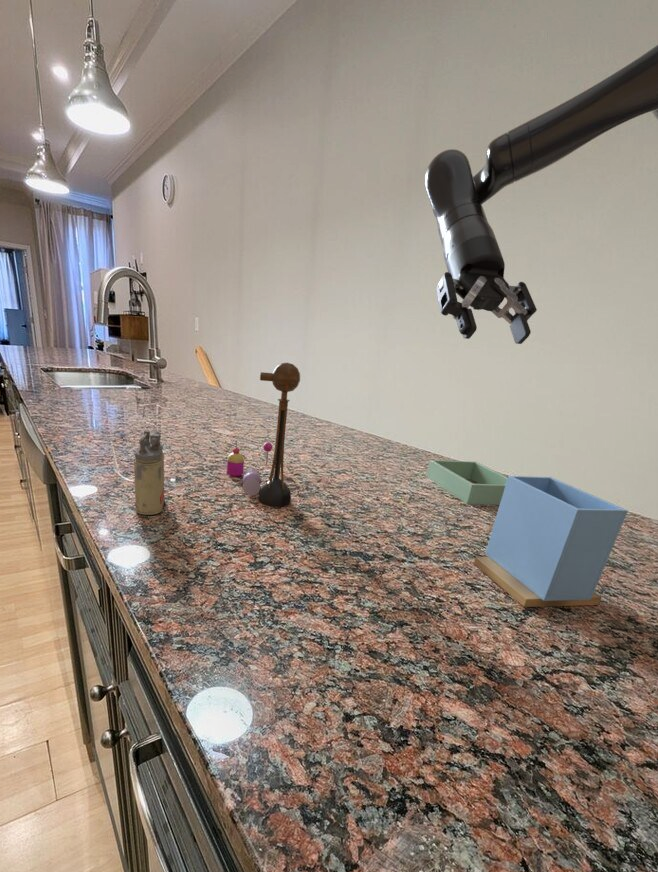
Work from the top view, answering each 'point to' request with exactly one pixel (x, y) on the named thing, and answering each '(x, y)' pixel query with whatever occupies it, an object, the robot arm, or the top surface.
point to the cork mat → (523, 587)
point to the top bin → (553, 537)
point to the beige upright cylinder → (149, 475)
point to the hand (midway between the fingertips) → (497, 337)
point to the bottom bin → (455, 482)
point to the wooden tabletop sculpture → (279, 435)
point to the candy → (250, 475)
